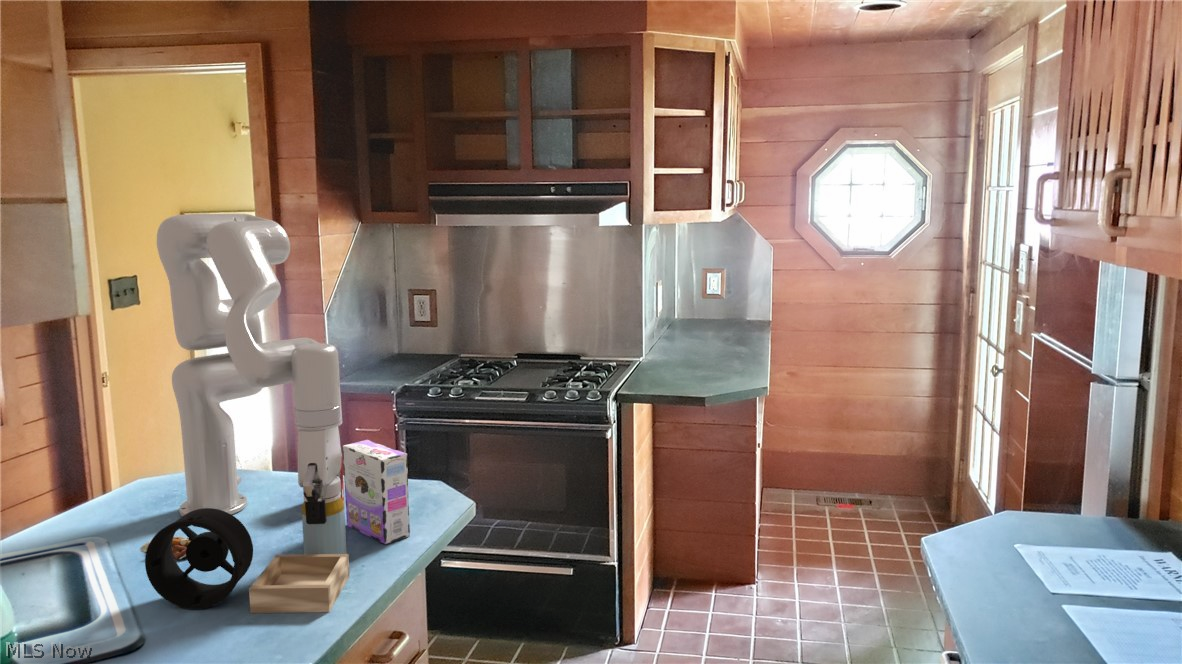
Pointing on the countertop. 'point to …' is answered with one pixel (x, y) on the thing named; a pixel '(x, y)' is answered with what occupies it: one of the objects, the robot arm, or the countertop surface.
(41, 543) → the countertop surface
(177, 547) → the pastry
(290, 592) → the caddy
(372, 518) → the candy box
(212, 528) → the black ducted fan housing
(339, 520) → the bottle
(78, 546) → the countertop surface
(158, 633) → the countertop surface
